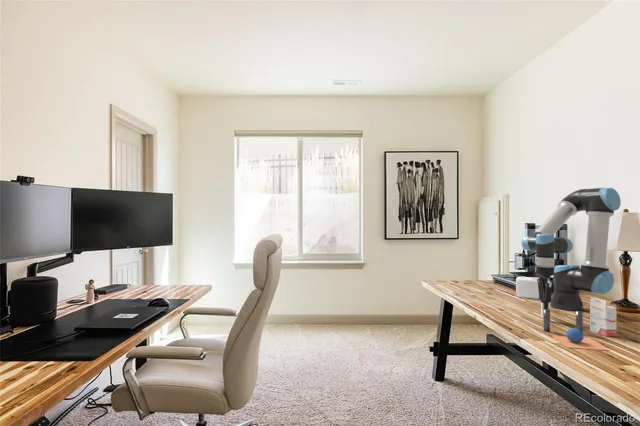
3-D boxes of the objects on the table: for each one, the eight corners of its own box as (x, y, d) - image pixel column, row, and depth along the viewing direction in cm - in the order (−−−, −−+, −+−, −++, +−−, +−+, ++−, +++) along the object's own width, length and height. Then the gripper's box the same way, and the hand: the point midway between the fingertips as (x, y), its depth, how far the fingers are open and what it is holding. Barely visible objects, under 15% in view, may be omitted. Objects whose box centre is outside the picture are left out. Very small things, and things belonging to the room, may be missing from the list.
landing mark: (590, 338, 149) (590, 338, 149) (610, 350, 135) (610, 350, 135) (551, 336, 151) (551, 335, 151) (567, 347, 138) (567, 347, 138)
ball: (578, 337, 146) (580, 325, 145) (585, 346, 141) (587, 333, 140) (562, 337, 147) (564, 324, 146) (569, 345, 142) (570, 332, 141)
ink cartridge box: (617, 336, 152) (617, 300, 152) (606, 336, 151) (606, 300, 151) (600, 330, 160) (600, 296, 160) (589, 330, 160) (589, 296, 160)
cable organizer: (543, 297, 229) (543, 278, 229) (544, 300, 220) (544, 280, 220) (516, 294, 236) (516, 276, 236) (515, 297, 227) (515, 278, 227)
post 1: (548, 330, 159) (548, 309, 159) (551, 332, 157) (551, 310, 157) (542, 330, 159) (542, 309, 160) (544, 331, 157) (544, 310, 157)
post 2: (581, 332, 157) (581, 311, 157) (583, 334, 154) (583, 312, 154) (574, 332, 157) (574, 310, 157) (577, 333, 155) (577, 312, 155)
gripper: (531, 264, 183) (531, 312, 183) (541, 267, 170) (541, 319, 170) (548, 264, 181) (548, 313, 181) (559, 268, 169) (559, 320, 168)
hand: (544, 316), depth 175 cm, fingers closed
